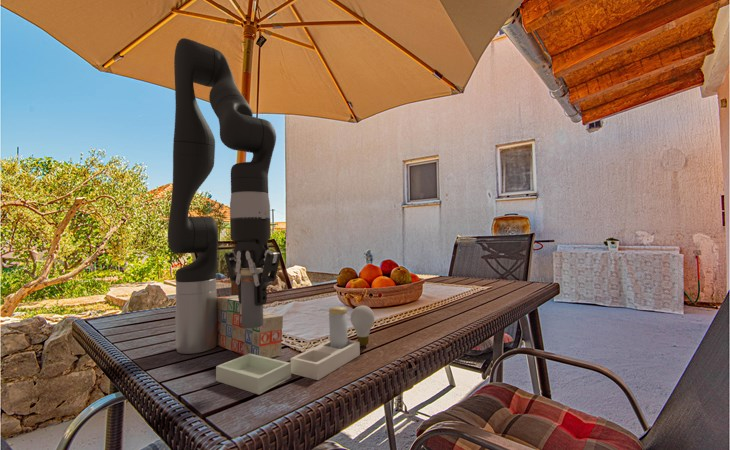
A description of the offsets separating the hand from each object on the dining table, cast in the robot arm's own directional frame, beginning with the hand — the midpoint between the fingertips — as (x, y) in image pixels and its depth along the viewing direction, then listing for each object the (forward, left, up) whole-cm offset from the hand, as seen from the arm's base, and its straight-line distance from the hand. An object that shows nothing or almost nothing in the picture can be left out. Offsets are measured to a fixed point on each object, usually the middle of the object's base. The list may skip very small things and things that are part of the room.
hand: (252, 303), depth 67 cm
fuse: (+8, +17, -15) cm, 24 cm away
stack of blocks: (-16, +11, -15) cm, 24 cm away
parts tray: (0, 0, -15) cm, 15 cm away
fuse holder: (+8, +13, -15) cm, 21 cm away
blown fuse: (0, 0, -4) cm, 4 cm away
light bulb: (+9, +26, -15) cm, 31 cm away
